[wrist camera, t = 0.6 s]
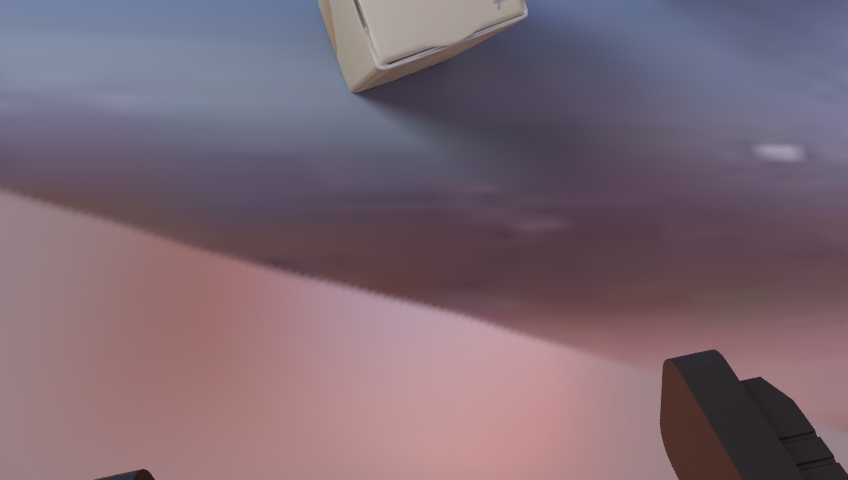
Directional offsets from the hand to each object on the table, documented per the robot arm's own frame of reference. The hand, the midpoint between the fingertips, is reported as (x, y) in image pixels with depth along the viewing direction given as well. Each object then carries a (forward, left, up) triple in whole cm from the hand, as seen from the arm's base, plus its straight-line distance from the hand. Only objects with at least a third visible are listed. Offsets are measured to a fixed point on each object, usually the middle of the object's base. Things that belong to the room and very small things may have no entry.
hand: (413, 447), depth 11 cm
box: (-6, +8, -22) cm, 24 cm away
